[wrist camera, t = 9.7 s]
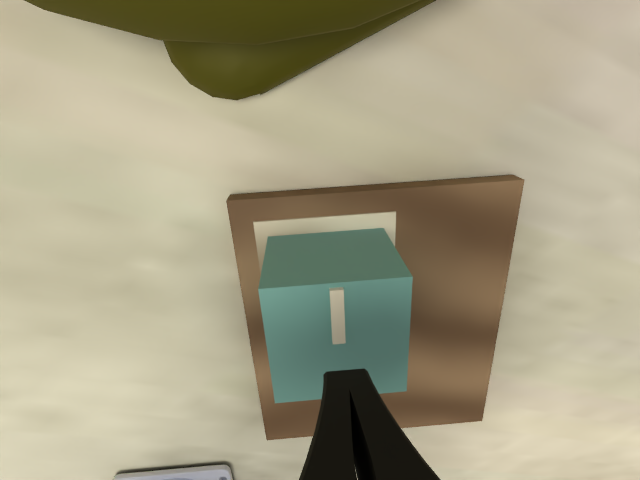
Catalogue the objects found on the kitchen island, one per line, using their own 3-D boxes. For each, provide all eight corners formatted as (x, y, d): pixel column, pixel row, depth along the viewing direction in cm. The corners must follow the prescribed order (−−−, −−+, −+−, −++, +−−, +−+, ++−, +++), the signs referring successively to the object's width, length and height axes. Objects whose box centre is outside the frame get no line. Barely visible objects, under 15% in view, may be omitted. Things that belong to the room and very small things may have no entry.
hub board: (475, 408, 24) (509, 470, 20) (267, 426, 24) (262, 494, 20) (512, 174, 18) (573, 201, 14) (230, 194, 18) (210, 227, 14)
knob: (382, 322, 20) (407, 395, 15) (279, 331, 20) (274, 407, 15) (383, 227, 17) (414, 279, 13) (267, 236, 17) (257, 292, 13)
